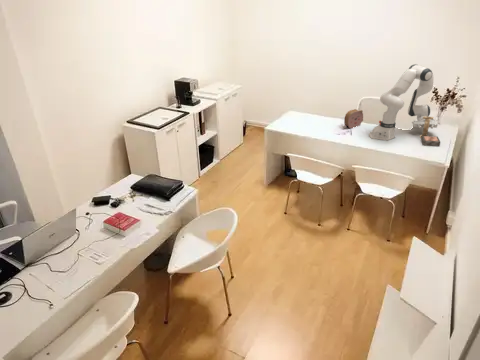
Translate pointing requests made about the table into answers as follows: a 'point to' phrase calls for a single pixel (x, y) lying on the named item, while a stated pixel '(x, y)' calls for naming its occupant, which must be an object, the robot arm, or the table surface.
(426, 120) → the eyeglasses stand
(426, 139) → the display plinth
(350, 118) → the face sculpture
